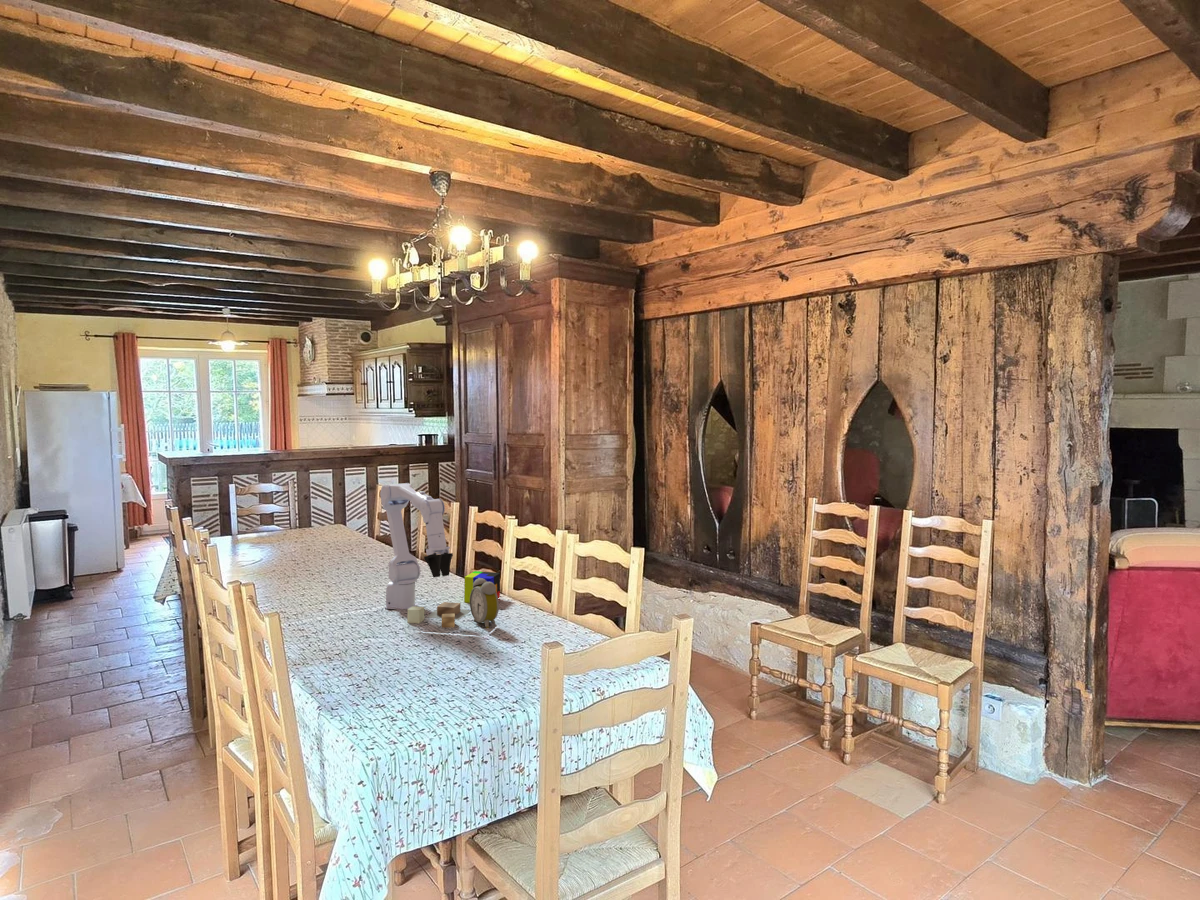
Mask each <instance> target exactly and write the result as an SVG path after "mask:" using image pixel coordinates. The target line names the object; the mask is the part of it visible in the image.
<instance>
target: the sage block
mask: <svg viewBox="0 0 1200 900" xmlns="http://www.w3.org/2000/svg"><path fill="white" fill-rule="evenodd" d="M406 619H407V622H406V623H407V624H421V623H422V622H423V621H424V620H425V607H424V606H418V605H416V606H412V607H411V608H409V609H407V618H406Z"/></svg>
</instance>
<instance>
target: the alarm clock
mask: <svg viewBox="0 0 1200 900" xmlns="http://www.w3.org/2000/svg"><path fill="white" fill-rule="evenodd" d="M499 602H500V600H498V596H497V593H496V586H495V585H494V584H493V583H492V582H487V581H486V580H485V579H483V578H478V579H476V580H475V581H474V583H473V589H472V591H471V595H470V603H469V608H470V609H469V610H471V611H470V612H471V615H472V618H473V622H477V623H483V624H484V626H485V629H489V626H490V623H492V624H495V623H496V621H495V620H496V618H497V616H498V614H499V610H500V608H499V607H500V603H499Z"/></svg>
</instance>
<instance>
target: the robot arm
mask: <svg viewBox="0 0 1200 900" xmlns="http://www.w3.org/2000/svg"><path fill="white" fill-rule="evenodd" d="M379 496H380V499H381V500H380V501H381V505H382V509H384V510H385V512H386V517H387V522H388V527H389V533H390V538H391V539H390V540H391V543H392V547H393V548H392V549H393V555H394V556H393V557H392V558H391V559H390V561H388V564H387V565H388V572H387V573H388V578H389V580H390V581H389V582H388V583H387V585H386V589H385V591H386V592H385V606H384V609H387V610H388V609H390V610H396V609H399V610H400V609H401V610H402V609H403V610H408V609H409V608H411V607H412V606H418V605H420V603H418V602H416V600H415V599H416V583H417V581H418V579H420V576H421V571H422V569H421V566H420V564H419V562H418V559H417V557H416V556H414V555H413V554H412V553H410V551H409V550H410V549H409V545H408V541H407V533H406V529H405V525H404V520H403V515H402V511H403V509H405V508H406V507H407V506H408V505H409V502H411V503H410V504H411V506H412V507H414V508H415V509H417V510H418V511H420V514H421V515H420V516H421V517H422V521H423V523H425V524H424V525H425V529H426V538H427V545H428V548H427V549H425V551H426V555H423V559H424V561H425V562H426V563H427V565H428V568H429V570H430V572H431V575H432V577H433V578H439V577H441V576H442V577H447V576H450V572H451V571H450V569H451V562H452V559H453V553H452V552H451V553H450V549H451V546H447V540H446V534H445V527H444V525H445V524H444V519H443V516H444V513H445V510H446V509H445V502H444V501H443V500H442V498H433V497H432V496H431V495H429V494H426V491H425V490H422V491H421V490H420V491H418V492H417V491H416V490H415V489H414V488H413V485H412V484H411V483H409V482H405V483H390V484H389V483H384V484H383V485H382V487H381V489H380V492H379Z"/></svg>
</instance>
